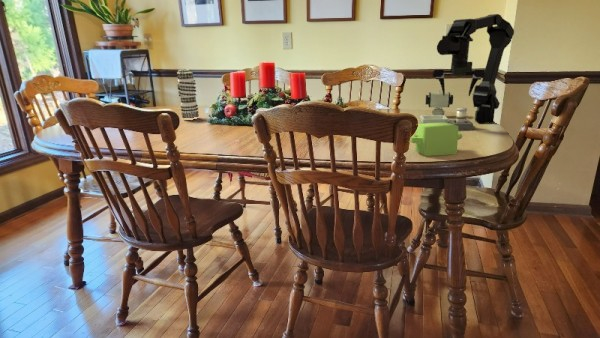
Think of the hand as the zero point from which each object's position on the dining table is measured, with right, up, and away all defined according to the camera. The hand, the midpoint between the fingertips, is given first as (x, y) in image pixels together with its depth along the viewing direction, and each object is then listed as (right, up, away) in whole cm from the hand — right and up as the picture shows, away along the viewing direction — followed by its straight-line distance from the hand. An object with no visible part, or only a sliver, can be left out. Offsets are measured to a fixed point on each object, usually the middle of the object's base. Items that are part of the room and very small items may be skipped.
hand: (456, 95), depth 160 cm
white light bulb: (+4, -12, +6) cm, 14 cm away
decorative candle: (-117, -3, +51) cm, 128 cm away
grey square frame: (+4, -12, +6) cm, 14 cm away
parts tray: (-3, -9, +17) cm, 19 cm away
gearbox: (-16, -23, -24) cm, 37 cm away
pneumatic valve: (+3, -5, +29) cm, 30 cm away
